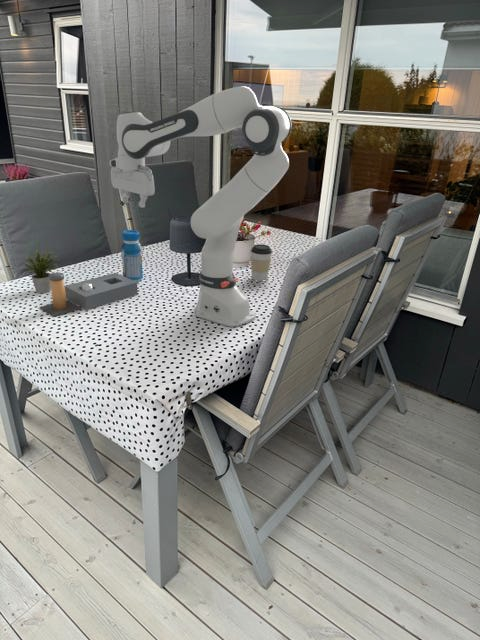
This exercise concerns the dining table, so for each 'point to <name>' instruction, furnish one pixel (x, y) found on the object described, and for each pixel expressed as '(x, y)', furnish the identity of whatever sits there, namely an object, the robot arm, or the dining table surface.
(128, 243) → the beverage bottle
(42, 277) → the house plant
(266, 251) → the coffee cup
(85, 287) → the plunger
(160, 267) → the dining table surface
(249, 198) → the robot arm
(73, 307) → the mat
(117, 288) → the housing
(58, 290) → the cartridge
